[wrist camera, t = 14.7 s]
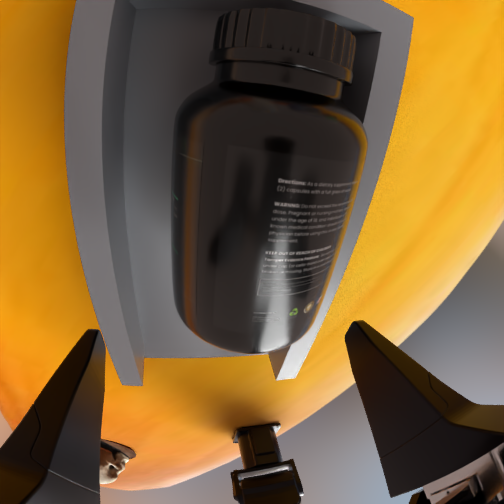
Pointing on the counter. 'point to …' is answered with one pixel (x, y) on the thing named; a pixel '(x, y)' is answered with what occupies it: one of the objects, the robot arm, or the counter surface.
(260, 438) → the robot arm
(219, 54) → the supplement bottle
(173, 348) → the gray rectangular tray
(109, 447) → the skull
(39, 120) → the counter surface
